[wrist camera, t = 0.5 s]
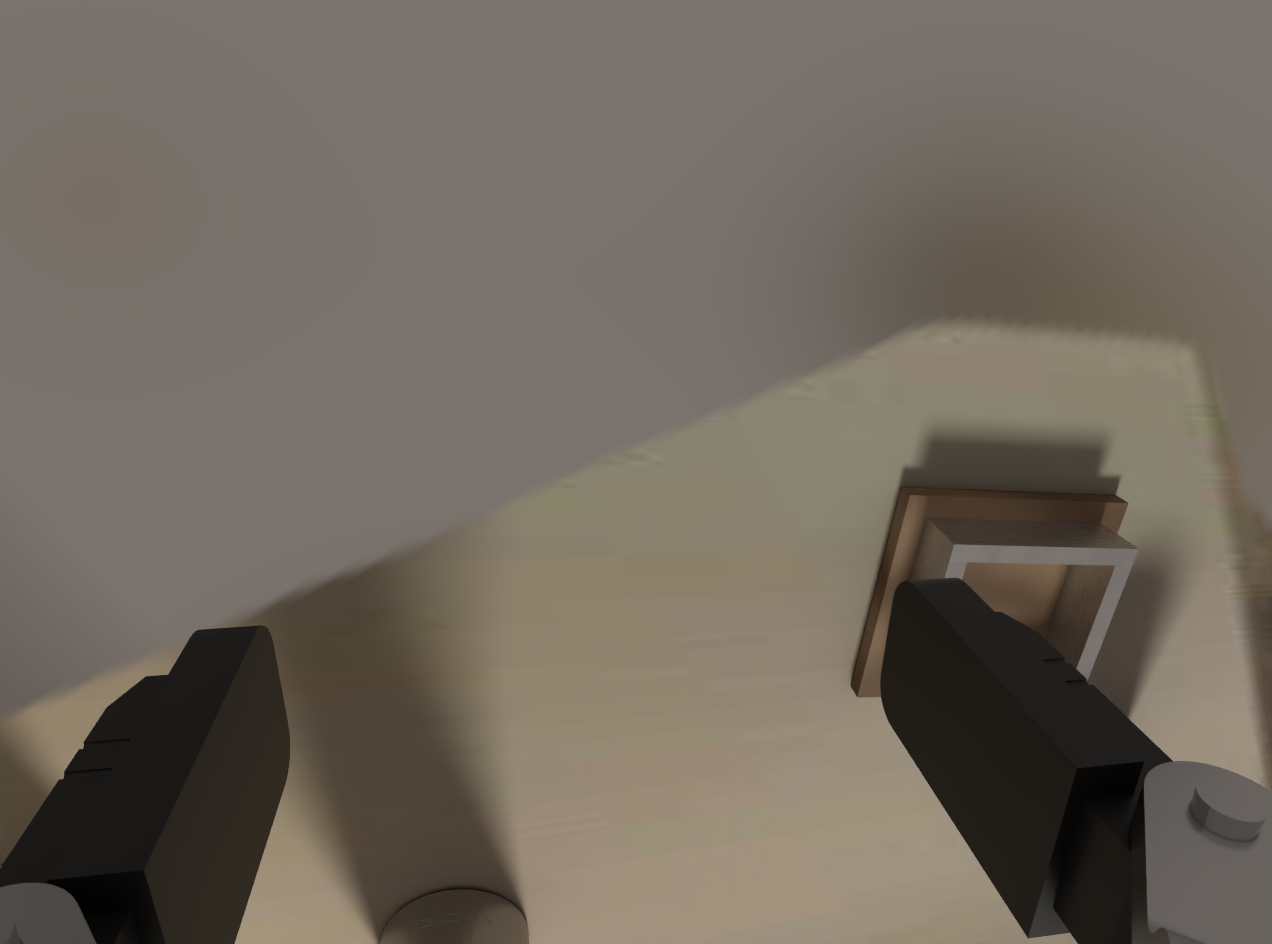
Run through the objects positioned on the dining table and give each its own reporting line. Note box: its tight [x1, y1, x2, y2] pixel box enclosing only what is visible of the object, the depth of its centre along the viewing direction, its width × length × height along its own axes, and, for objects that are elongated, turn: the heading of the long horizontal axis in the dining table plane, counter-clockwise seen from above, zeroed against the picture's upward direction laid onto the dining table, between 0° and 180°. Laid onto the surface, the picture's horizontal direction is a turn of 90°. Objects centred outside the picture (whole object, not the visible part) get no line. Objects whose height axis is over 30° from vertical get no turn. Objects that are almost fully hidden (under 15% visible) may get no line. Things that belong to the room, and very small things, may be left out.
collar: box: [909, 517, 1139, 681], centre depth 46 cm, size 10×10×3 cm
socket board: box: [851, 487, 1128, 697], centre depth 47 cm, size 13×13×1 cm
